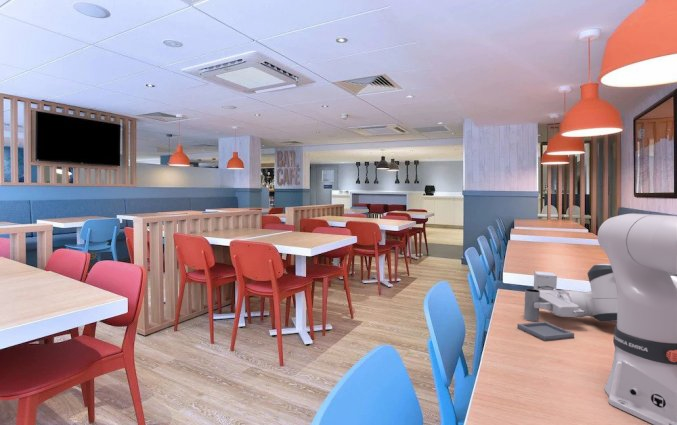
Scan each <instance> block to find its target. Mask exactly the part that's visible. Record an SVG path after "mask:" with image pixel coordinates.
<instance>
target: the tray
mask: <svg viewBox="0 0 677 425" xmlns="http://www.w3.org/2000/svg"><path fill="white" fill-rule="evenodd" d="M516 328H517V329H518V330H520V331H521V332H524V333H526V334H527V335H530V336H532V337H534V338H537V339H539V340H541V341H543V342H550V341H552V342H553V341H560V340H561V341H562V340H571V339H575V332H572V331H570V330H567V329H564V328H563V327H559V326H557V325H555V324H552V323H550V322H548V321H539V322H538V321H536V322H534V321H533V322H526V323H517V327H516Z"/></svg>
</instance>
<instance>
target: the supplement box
mask: <svg viewBox="0 0 677 425" xmlns="http://www.w3.org/2000/svg"><path fill="white" fill-rule="evenodd" d="M533 272H534V274H533V289H535V290H552V291H553V289H557V283H558V281H557V280H558V275H557V274H556V273H555V272H549V271H537V270H535V271H533Z"/></svg>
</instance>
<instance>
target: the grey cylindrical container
mask: <svg viewBox="0 0 677 425" xmlns="http://www.w3.org/2000/svg"><path fill="white" fill-rule="evenodd" d="M539 301H540V291H539V290H535V289H534V288H526V289H525V290H524V308H523V310H524V313H523V314H524V315H523V319H524V320H526V321H528V322H533V323H534V322H538V321H539V320H540V319H539V318H540V308H534V307H533V306H532V305H533V302H539ZM539 322H540V321H539Z"/></svg>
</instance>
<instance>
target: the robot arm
mask: <svg viewBox="0 0 677 425" xmlns="http://www.w3.org/2000/svg"><path fill="white" fill-rule="evenodd" d="M597 242H598V244H599V246H600V248H601V249H602V250H603V252H604V253H605V254H606V256H607V258H608V260H609V263H597V264H594V265H593V266H592V267H590V269H589V270H588V272H587V273H586V274H587V278H588V282H589V284H590V291H586V292H584V291H581V290H567V289H565V290H564V289H560V288H556V289H553V291H552V290H539V291H540V301H539V302H533V305H532V306H533V307H534V308H539V309H541V310H545V311H548V312H550V313H552V314H553V315H555V316H557V317H560V318H561V317H562V318H573V317H574V318H583V317H590V318H594V319H596V320H597V321H598V322H600V323H602V322H603V323H604V322H612V323H616V325H615V326H614V327H613V328H614V329H613V345H614V353H613V360H612V364H611V369H610V372H609V375H608V378H607V381H606V383H605V385H604V390H605V393H606V395H607V396H608V404H609V405H611V406H613V407H615V408H617V409H619V410H621V411H624V412H626V413H628V414H631V415H632V416H635V417H636V418H639V419H641V420H643V421H645V422H648V423H650V424H652V425H677V215H667V214H666V215H664V214H651V213H650V214H649V213H625V214H620V215H616V216H613V217H612V216H611V217H609V218H608V219H606V220H605V221H604V222H602V223H601V225H600V226H599V228H598V231H597Z"/></svg>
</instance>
